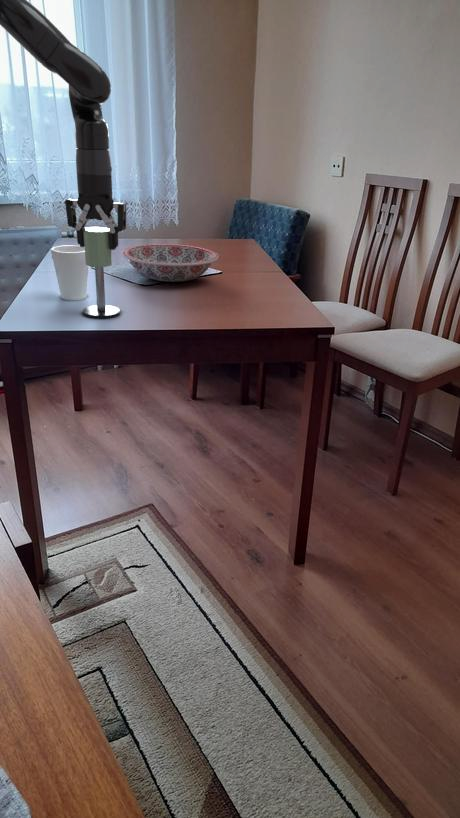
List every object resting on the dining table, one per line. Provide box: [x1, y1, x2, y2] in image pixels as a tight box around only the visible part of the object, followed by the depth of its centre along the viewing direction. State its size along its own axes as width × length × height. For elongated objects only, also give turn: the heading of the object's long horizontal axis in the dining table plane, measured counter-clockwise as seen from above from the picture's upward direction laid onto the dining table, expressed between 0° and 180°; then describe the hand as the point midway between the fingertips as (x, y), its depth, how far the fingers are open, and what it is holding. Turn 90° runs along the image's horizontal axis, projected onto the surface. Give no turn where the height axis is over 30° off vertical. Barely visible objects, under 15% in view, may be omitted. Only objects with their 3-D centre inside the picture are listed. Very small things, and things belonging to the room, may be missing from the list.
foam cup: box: [50, 244, 89, 301], centre depth 146 cm, size 10×9×13 cm
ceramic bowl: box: [121, 243, 219, 283], centre depth 170 cm, size 29×29×8 cm
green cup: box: [84, 226, 113, 268], centre depth 130 cm, size 6×6×8 cm
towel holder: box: [82, 267, 121, 320], centre depth 133 cm, size 9×9×20 cm
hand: (98, 247), depth 130 cm, fingers open, 7 cm apart
